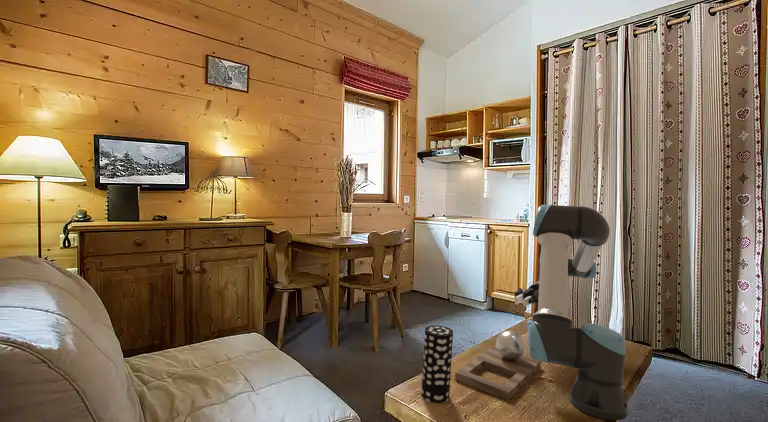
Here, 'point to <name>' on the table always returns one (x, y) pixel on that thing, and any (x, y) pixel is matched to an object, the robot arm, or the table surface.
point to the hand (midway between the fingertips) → (520, 301)
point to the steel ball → (510, 345)
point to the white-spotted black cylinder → (437, 364)
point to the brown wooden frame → (496, 362)
